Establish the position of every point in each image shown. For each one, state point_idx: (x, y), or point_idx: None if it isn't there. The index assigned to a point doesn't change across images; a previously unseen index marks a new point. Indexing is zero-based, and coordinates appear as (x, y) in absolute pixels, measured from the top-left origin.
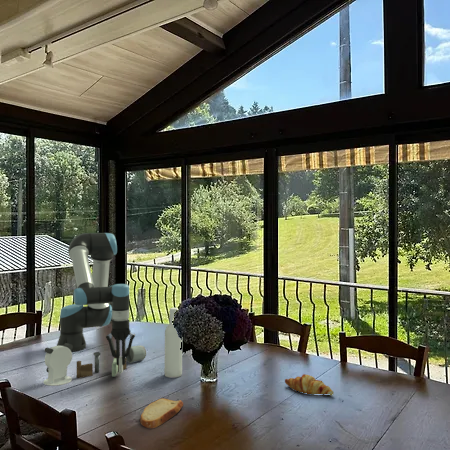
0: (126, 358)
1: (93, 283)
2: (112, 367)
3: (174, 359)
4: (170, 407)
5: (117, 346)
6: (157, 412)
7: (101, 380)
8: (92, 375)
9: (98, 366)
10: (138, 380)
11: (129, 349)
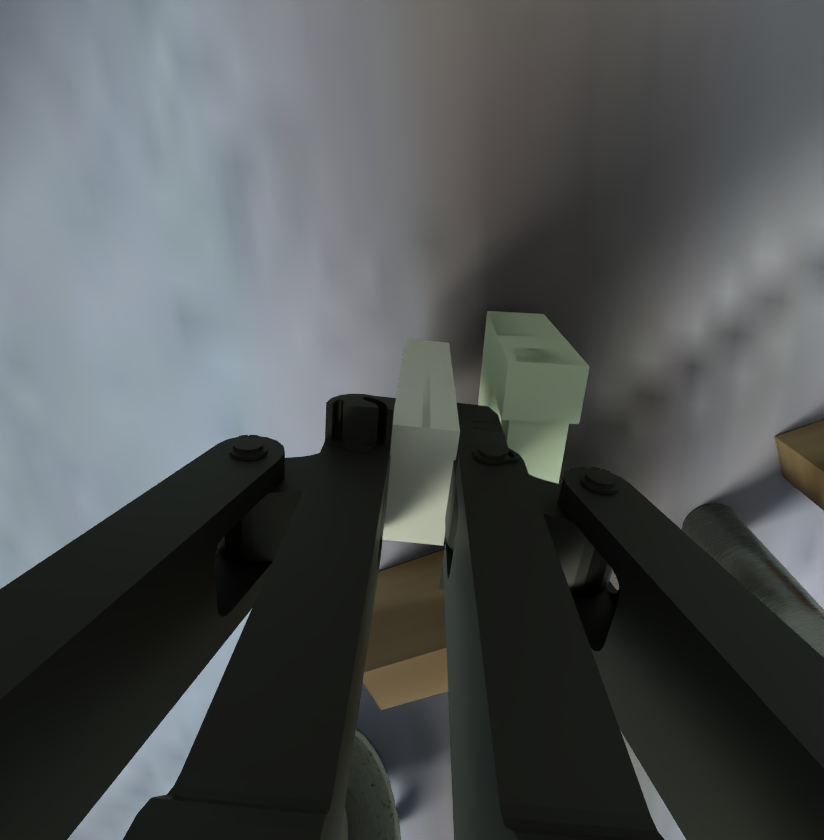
0: (387, 793)
1: None
2: (562, 346)
3: None
4: None
5: (543, 664)
6: None
7: (685, 227)
8: (775, 437)
9: (731, 560)
10: (166, 137)
11: (112, 532)
